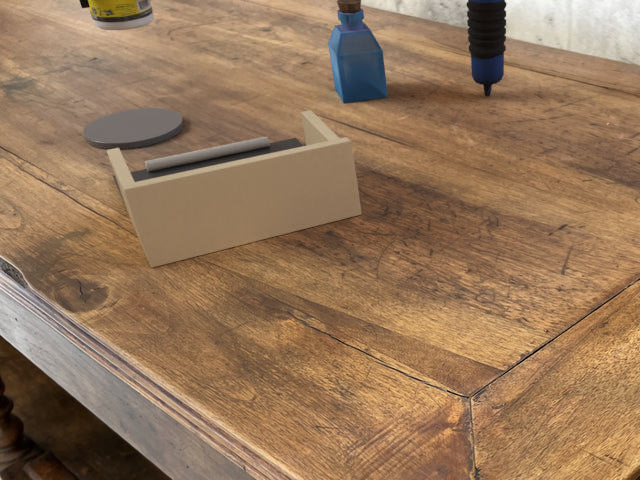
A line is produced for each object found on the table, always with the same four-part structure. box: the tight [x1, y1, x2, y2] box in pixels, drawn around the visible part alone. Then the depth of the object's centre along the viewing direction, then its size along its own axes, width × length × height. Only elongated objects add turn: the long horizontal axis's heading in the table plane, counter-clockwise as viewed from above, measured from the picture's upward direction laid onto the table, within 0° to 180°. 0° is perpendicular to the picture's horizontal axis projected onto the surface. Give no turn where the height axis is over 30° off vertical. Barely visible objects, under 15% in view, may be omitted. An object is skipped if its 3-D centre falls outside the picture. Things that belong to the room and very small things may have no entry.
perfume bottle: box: [327, 0, 389, 104], centre depth 108 cm, size 6×6×12 cm
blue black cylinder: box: [466, 0, 507, 97], centre depth 105 cm, size 8×8×20 cm
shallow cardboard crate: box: [106, 109, 363, 269], centre depth 84 cm, size 21×22×8 cm
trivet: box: [82, 107, 185, 150], centre depth 102 cm, size 12×12×1 cm
